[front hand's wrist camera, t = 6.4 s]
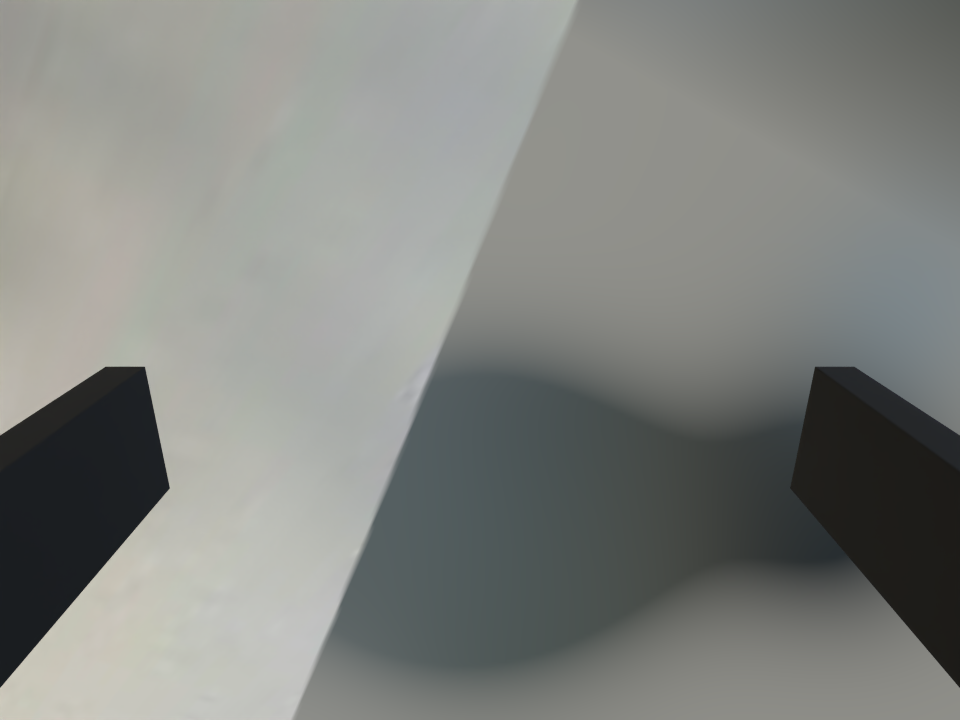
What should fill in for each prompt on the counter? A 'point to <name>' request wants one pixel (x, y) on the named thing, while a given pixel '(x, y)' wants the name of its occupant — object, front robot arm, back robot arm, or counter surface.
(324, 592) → the counter surface
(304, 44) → the counter surface
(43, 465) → the front robot arm
